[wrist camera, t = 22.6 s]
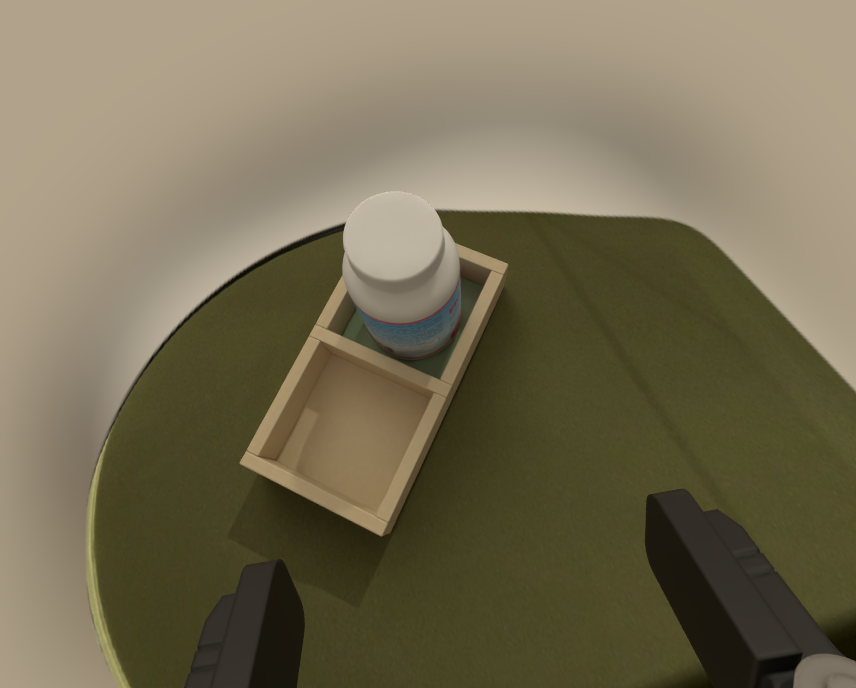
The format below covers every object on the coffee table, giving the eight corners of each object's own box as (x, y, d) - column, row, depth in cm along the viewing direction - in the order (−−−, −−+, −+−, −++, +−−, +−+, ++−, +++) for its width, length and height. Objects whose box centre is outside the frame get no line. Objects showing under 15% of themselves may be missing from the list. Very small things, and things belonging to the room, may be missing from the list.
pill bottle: (475, 340, 34) (482, 266, 23) (387, 376, 34) (352, 317, 23) (440, 261, 36) (430, 158, 25) (355, 294, 36) (309, 204, 25)
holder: (384, 237, 37) (376, 211, 34) (504, 286, 36) (508, 264, 32) (261, 467, 33) (238, 463, 30) (390, 533, 32) (381, 537, 28)
